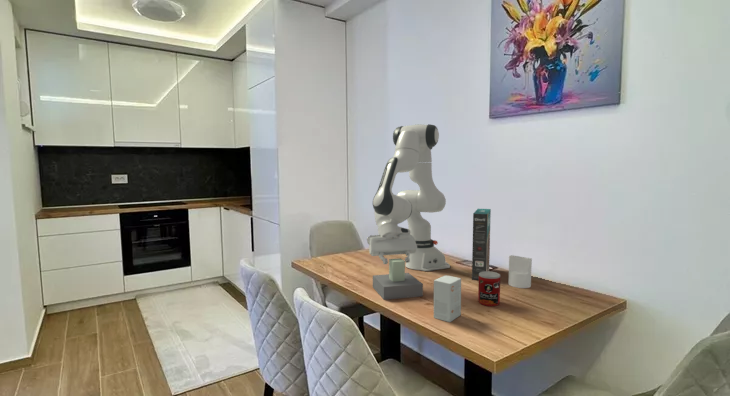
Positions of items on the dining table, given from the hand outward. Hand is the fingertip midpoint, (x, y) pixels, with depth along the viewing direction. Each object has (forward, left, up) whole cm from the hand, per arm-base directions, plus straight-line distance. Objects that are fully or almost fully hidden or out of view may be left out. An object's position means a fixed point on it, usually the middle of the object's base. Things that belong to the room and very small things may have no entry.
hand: (396, 262), depth 154 cm
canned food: (-29, +21, -12) cm, 38 cm away
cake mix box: (-47, -14, -12) cm, 50 cm away
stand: (0, 0, -12) cm, 12 cm away
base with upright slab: (-54, +5, -12) cm, 56 cm away
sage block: (0, 0, -7) cm, 7 cm away
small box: (-8, +29, -12) cm, 33 cm away
